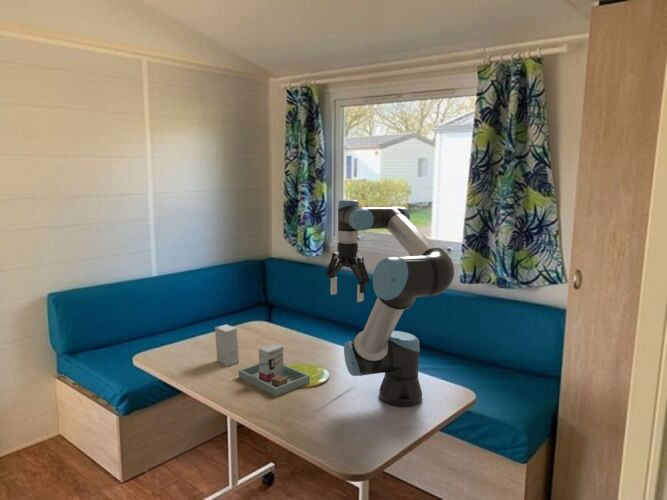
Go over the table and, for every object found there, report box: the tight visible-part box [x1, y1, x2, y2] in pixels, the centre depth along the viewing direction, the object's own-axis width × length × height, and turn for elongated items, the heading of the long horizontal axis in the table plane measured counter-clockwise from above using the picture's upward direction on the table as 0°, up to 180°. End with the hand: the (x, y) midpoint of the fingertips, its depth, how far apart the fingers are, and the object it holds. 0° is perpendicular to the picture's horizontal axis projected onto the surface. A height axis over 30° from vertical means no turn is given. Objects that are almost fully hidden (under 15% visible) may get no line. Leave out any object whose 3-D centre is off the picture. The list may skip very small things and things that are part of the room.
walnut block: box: [272, 375, 288, 387], centre depth 180 cm, size 4×4×4 cm
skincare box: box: [214, 323, 240, 367], centre depth 205 cm, size 8×6×15 cm
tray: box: [238, 363, 311, 397], centre depth 187 cm, size 22×16×4 cm
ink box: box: [258, 343, 284, 382], centre depth 189 cm, size 9×5×12 cm, turn 140°
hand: (346, 297), depth 188 cm, fingers open, 13 cm apart
